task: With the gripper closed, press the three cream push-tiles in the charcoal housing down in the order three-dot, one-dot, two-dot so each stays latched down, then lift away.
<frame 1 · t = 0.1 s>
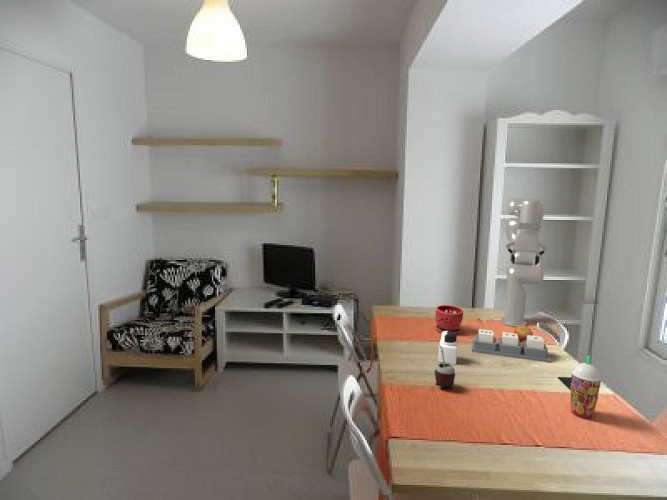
hand: (524, 263, 192), 37 cm above the table, tool pointing down, fingers open, 9 cm apart
smartphone: (576, 389, 153), on the table
plant pot: (448, 332, 207), on the table
mate gourd: (442, 386, 152), on the table
smoothie: (581, 414, 135), on the table
medicine bottle: (447, 360, 174), on the table
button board: (508, 352, 183), on the table
fruit: (522, 341, 197), on the table
three dot tile: (485, 336, 185), point 6 cm above the table, slide at 0.0 cm
two dot tile: (510, 339, 182), point 6 cm above the table, slide at 0.0 cm
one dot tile: (535, 342, 179), point 6 cm above the table, slide at 0.0 cm
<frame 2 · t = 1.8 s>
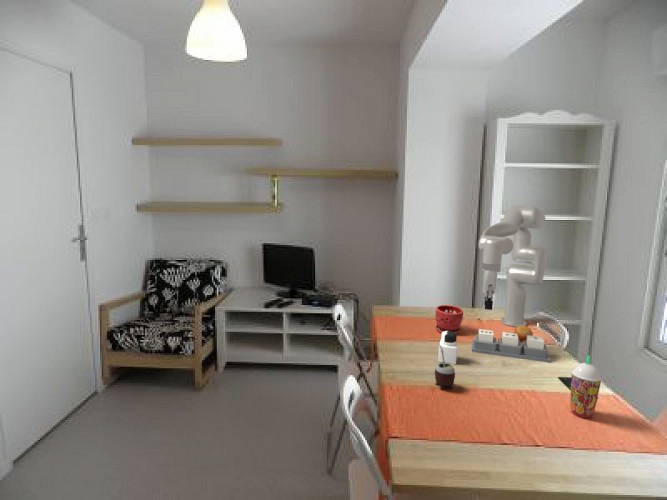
hand: (488, 307, 183), 19 cm above the table, tool pointing down, fingers open, 5 cm apart
nothing on the table moved.
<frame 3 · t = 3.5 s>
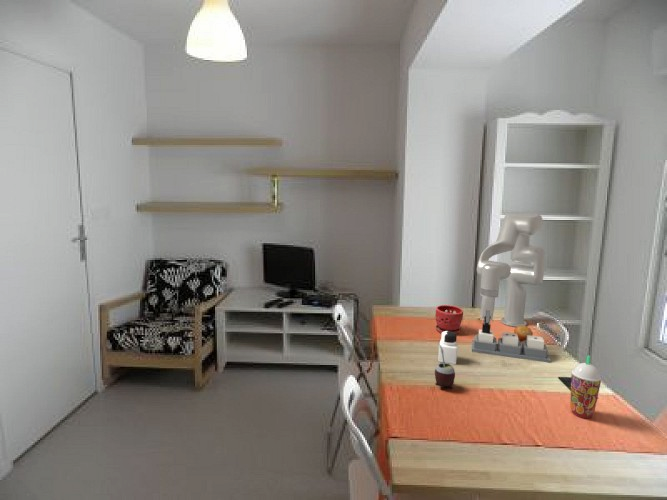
hand: (485, 332, 185), 8 cm above the table, tool pointing down, fingers closed
three dot tile: (485, 336, 185), point 6 cm above the table, slide at 0.2 cm, touching gripper
everything else where it was.
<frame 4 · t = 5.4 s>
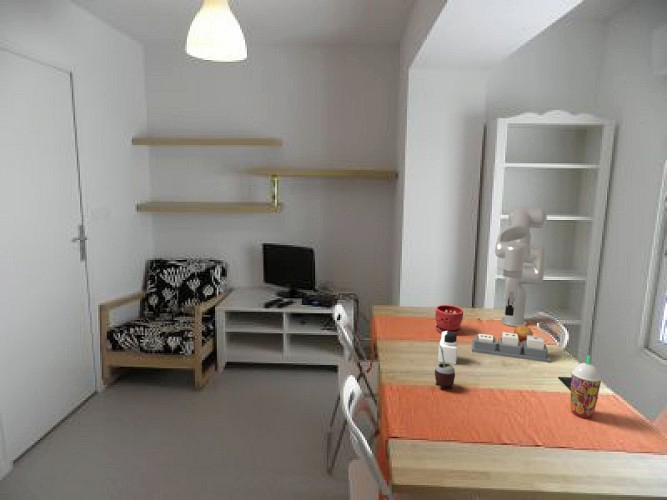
hand: (509, 314, 181), 17 cm above the table, tool pointing down, fingers closed
three dot tile: (485, 340, 186), point 4 cm above the table, slide at 2.1 cm
everything else where it was.
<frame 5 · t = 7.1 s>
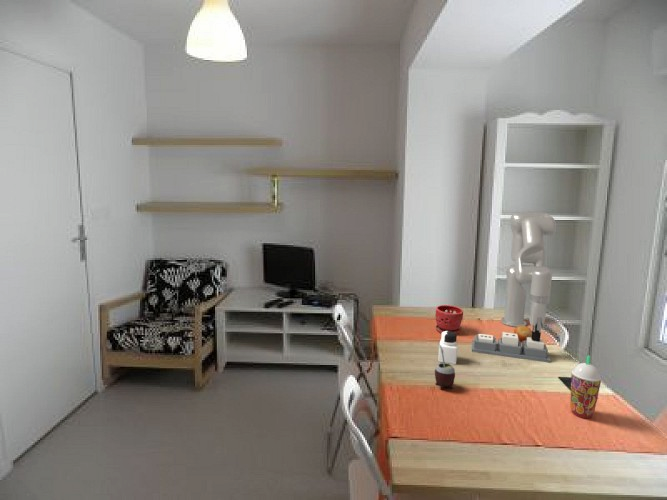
hand: (535, 340, 179), 7 cm above the table, tool pointing down, fingers closed
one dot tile: (534, 344, 179), point 5 cm above the table, slide at 0.9 cm, touching gripper
everything else where it was.
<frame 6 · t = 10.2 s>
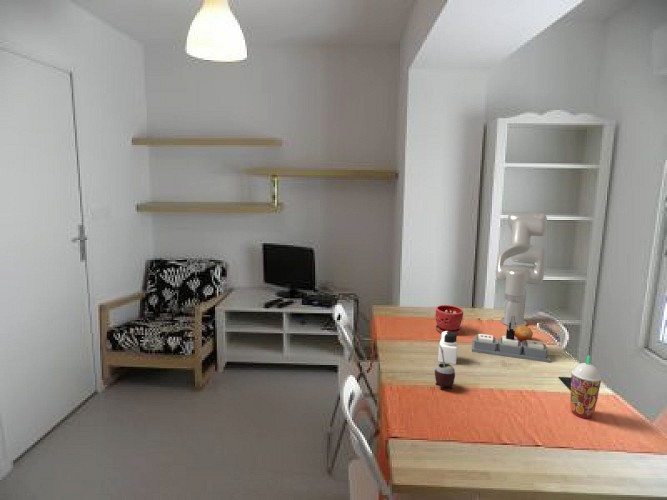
hand: (510, 338, 182), 6 cm above the table, tool pointing down, fingers closed
two dot tile: (509, 342, 183), point 4 cm above the table, slide at 1.6 cm
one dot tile: (534, 347, 179), point 4 cm above the table, slide at 2.1 cm
everything else where it was.
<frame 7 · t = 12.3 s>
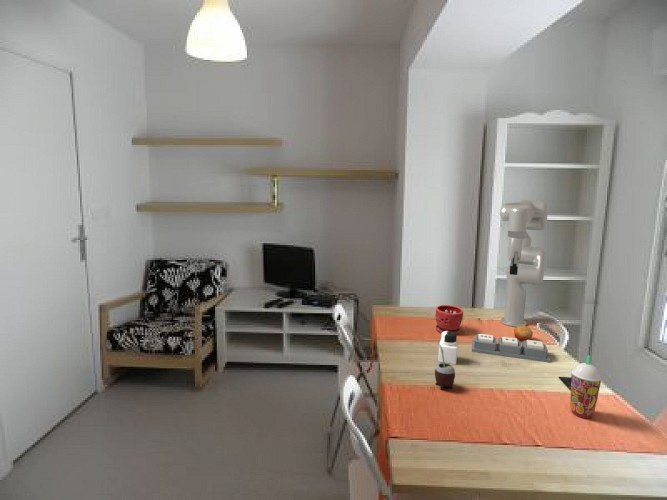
hand: (513, 274, 190), 32 cm above the table, tool pointing down, fingers closed
two dot tile: (509, 344, 183), point 4 cm above the table, slide at 2.1 cm
everything else where it was.
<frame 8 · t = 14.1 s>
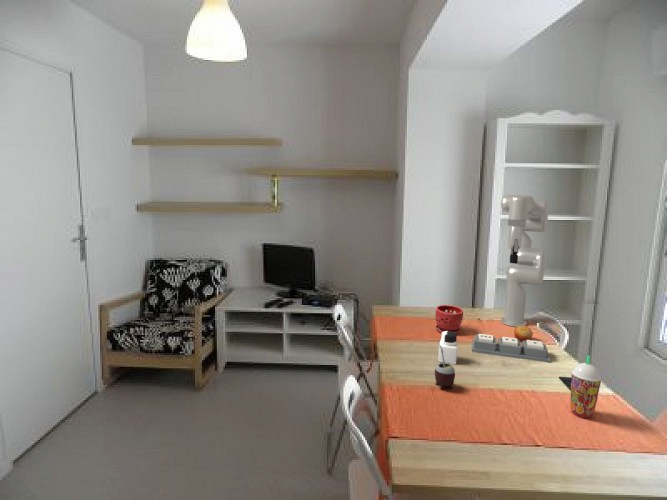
hand: (513, 263, 192), 37 cm above the table, tool pointing down, fingers closed
nothing on the table moved.
at the end: three dot tile slide at 2.1 cm; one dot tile slide at 2.1 cm; two dot tile slide at 2.1 cm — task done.
